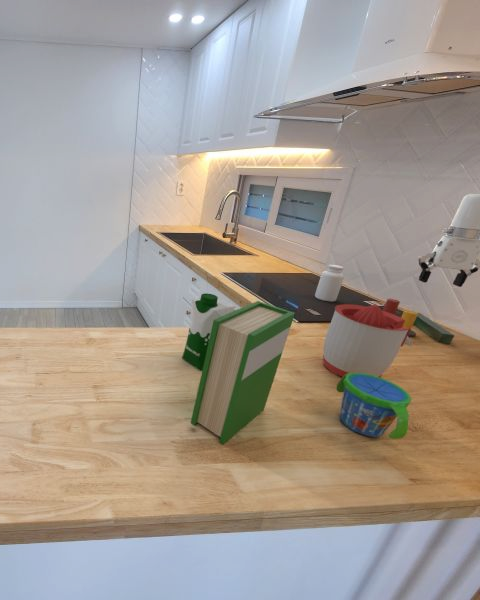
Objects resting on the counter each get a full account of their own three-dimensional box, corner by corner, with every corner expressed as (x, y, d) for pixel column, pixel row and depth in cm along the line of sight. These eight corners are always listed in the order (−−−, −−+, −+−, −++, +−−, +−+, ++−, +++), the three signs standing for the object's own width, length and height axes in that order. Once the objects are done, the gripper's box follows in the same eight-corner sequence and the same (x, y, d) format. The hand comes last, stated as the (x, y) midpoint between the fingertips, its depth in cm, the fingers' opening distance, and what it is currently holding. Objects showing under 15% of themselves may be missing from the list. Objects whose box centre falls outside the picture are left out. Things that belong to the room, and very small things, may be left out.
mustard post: (408, 330, 121) (417, 310, 118) (419, 338, 115) (429, 317, 112) (385, 326, 123) (393, 306, 120) (394, 334, 117) (404, 313, 114)
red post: (391, 317, 132) (400, 298, 129) (401, 324, 126) (410, 305, 123) (370, 314, 134) (378, 295, 131) (378, 321, 128) (387, 301, 125)
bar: (416, 320, 130) (420, 313, 129) (449, 344, 112) (454, 335, 111) (406, 319, 131) (410, 311, 130) (438, 342, 113) (442, 333, 112)
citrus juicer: (399, 399, 82) (436, 326, 75) (315, 374, 91) (341, 306, 83) (387, 370, 95) (417, 305, 87) (314, 350, 103) (336, 289, 96)
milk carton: (177, 357, 95) (189, 291, 87) (200, 351, 99) (214, 287, 92) (201, 374, 88) (216, 303, 80) (224, 366, 92) (241, 298, 84)
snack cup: (314, 399, 80) (329, 363, 77) (362, 405, 79) (378, 368, 75) (355, 450, 66) (375, 408, 62) (414, 457, 65) (438, 416, 61)
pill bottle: (321, 294, 153) (332, 263, 148) (339, 301, 146) (352, 268, 141) (310, 296, 150) (320, 263, 145) (327, 302, 144) (339, 269, 138)
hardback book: (223, 445, 65) (253, 336, 56) (190, 422, 71) (213, 319, 62) (264, 409, 76) (295, 312, 67) (232, 392, 81) (257, 300, 72)
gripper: (438, 232, 108) (415, 283, 114) (507, 238, 103) (479, 290, 110) (424, 229, 114) (403, 276, 121) (487, 234, 110) (462, 284, 116)
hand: (439, 283), depth 115 cm, fingers open, 9 cm apart
